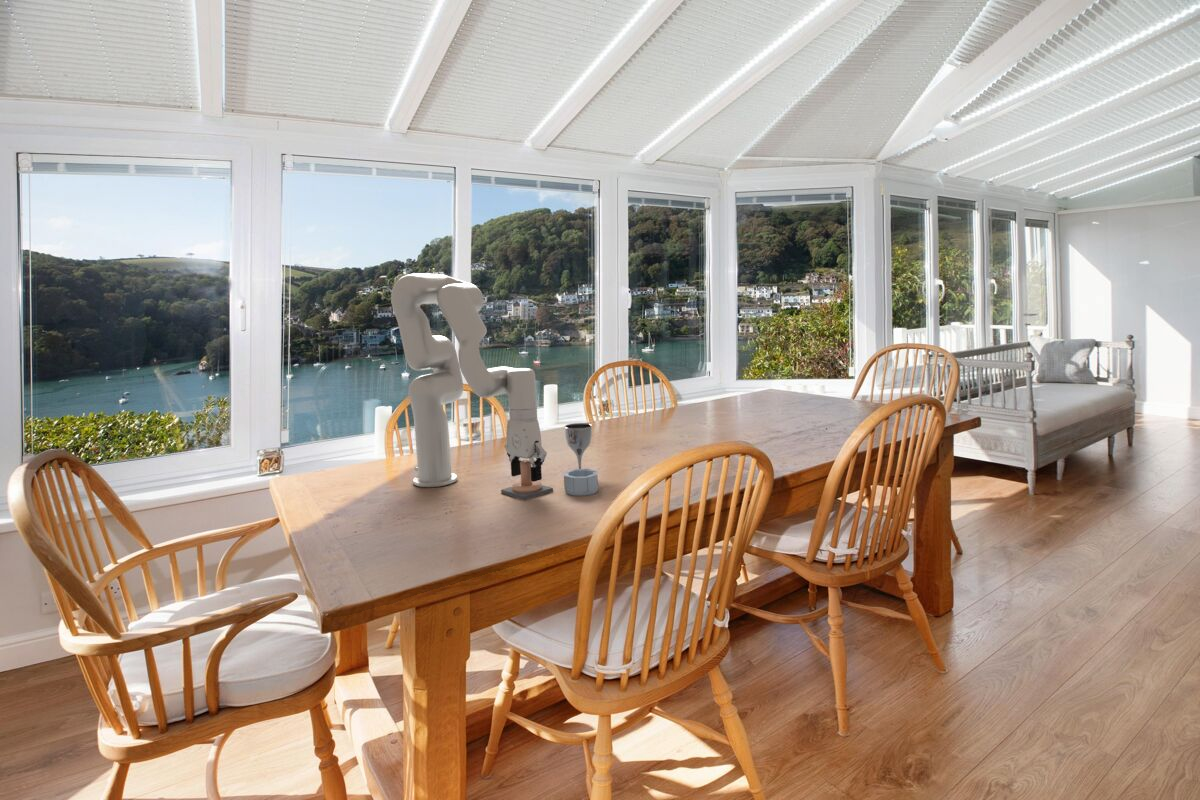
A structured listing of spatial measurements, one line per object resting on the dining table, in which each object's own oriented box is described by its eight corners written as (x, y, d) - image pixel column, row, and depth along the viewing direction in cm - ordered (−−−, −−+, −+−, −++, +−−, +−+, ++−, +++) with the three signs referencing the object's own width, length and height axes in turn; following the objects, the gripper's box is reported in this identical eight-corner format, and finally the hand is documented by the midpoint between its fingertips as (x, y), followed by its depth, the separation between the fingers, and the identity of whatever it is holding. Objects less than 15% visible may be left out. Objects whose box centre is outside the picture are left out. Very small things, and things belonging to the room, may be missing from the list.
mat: (501, 493, 186) (501, 489, 186) (529, 485, 193) (529, 481, 193) (524, 500, 179) (524, 496, 179) (553, 491, 186) (552, 487, 186)
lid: (506, 489, 186) (504, 462, 185) (528, 483, 192) (527, 456, 190) (524, 494, 180) (523, 466, 179) (547, 488, 186) (546, 460, 185)
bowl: (558, 491, 185) (557, 474, 185) (581, 484, 192) (581, 467, 191) (581, 498, 179) (580, 479, 178) (604, 490, 185) (604, 472, 185)
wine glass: (590, 479, 197) (588, 428, 195) (563, 478, 198) (561, 428, 196) (596, 472, 205) (594, 423, 202) (570, 471, 206) (568, 423, 204)
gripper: (492, 413, 186) (495, 475, 189) (533, 420, 174) (536, 486, 177) (513, 409, 192) (517, 470, 194) (555, 415, 179) (558, 480, 182)
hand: (526, 477), depth 186 cm, fingers open, 7 cm apart
